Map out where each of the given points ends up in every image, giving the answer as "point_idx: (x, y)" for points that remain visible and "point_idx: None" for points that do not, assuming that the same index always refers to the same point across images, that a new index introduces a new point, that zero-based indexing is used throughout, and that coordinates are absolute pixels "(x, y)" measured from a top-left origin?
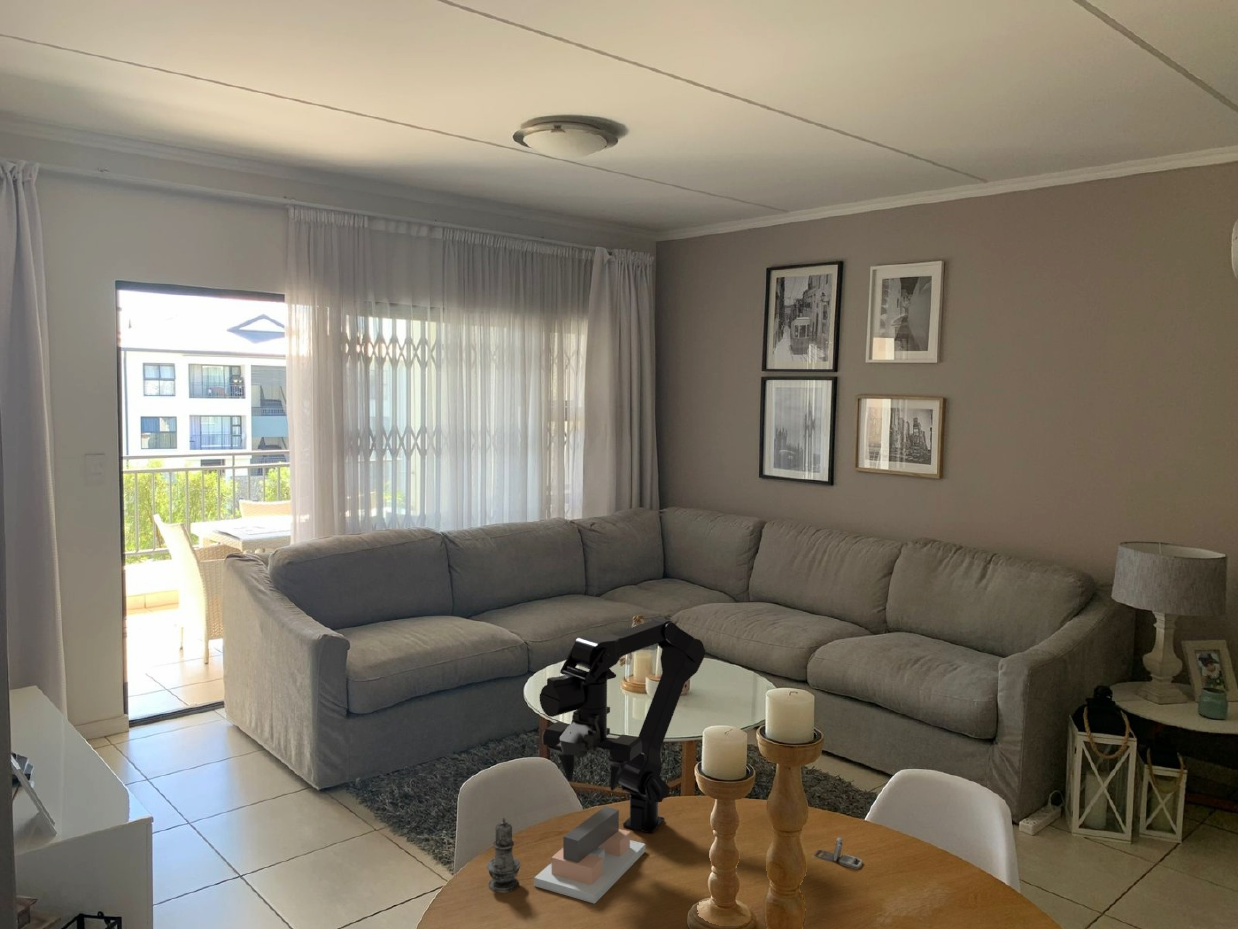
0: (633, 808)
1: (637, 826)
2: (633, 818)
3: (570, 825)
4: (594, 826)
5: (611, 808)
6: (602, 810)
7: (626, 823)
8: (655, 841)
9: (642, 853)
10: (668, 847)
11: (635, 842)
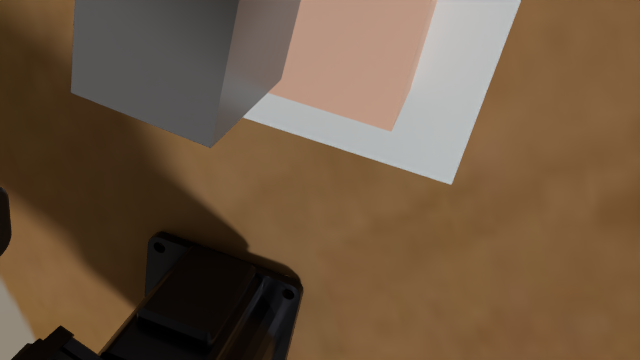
0: (190, 326)
1: (211, 257)
2: (216, 288)
3: (598, 284)
4: None
5: (137, 108)
6: (199, 51)
7: (284, 297)
8: (119, 167)
9: None
10: (47, 120)
11: None
